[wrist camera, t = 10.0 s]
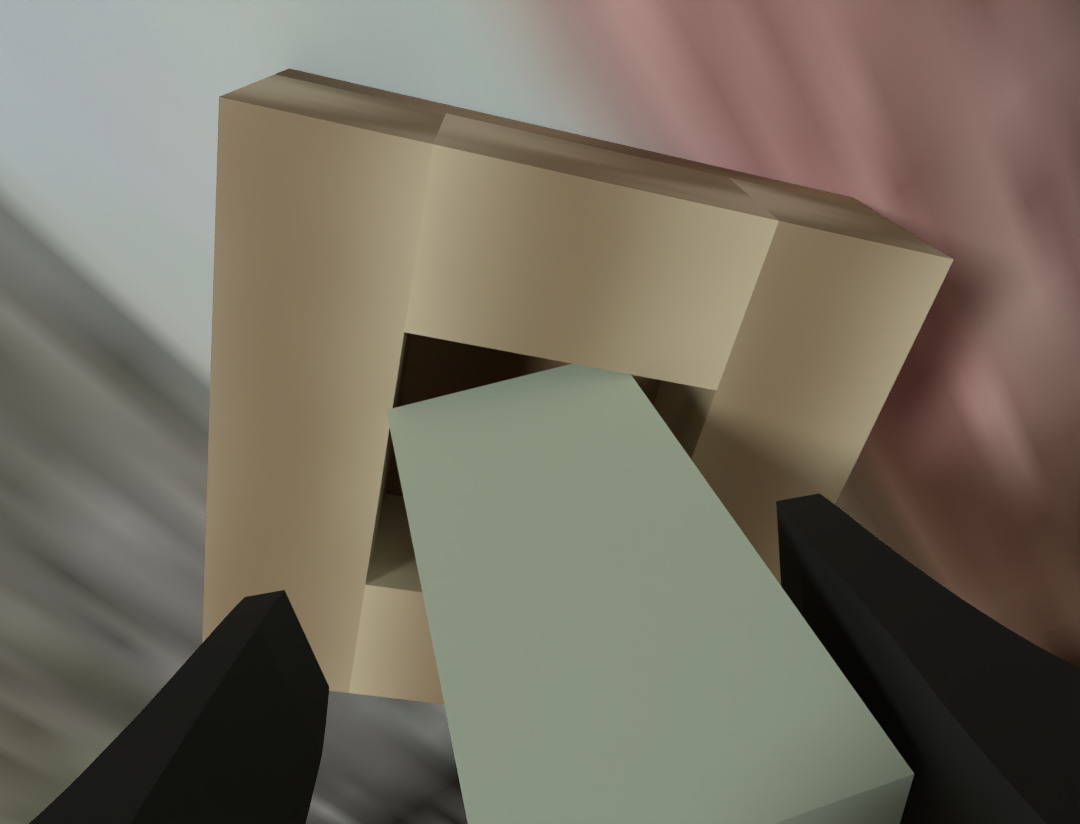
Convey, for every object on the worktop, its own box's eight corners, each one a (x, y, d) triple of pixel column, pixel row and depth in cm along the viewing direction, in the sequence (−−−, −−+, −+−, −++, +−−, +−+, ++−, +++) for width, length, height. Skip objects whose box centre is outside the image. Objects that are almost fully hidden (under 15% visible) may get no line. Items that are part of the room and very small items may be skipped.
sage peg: (615, 353, 14) (914, 774, 7) (627, 521, 16) (861, 953, 9) (386, 409, 13) (488, 925, 7) (433, 576, 15) (542, 1076, 9)
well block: (852, 197, 16) (953, 260, 12) (685, 610, 21) (722, 737, 17) (289, 68, 14) (219, 96, 11) (256, 548, 19) (201, 675, 16)
